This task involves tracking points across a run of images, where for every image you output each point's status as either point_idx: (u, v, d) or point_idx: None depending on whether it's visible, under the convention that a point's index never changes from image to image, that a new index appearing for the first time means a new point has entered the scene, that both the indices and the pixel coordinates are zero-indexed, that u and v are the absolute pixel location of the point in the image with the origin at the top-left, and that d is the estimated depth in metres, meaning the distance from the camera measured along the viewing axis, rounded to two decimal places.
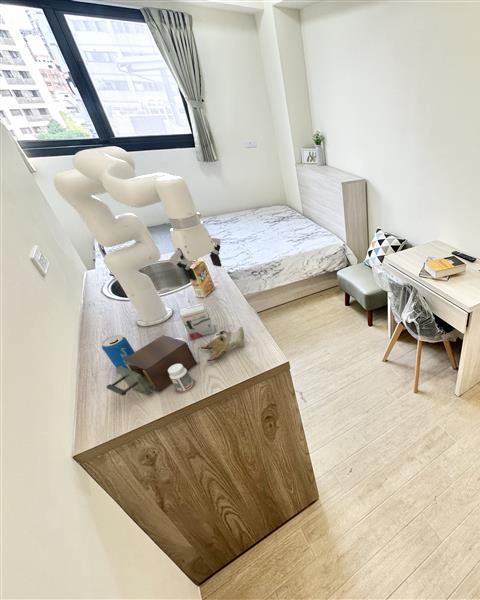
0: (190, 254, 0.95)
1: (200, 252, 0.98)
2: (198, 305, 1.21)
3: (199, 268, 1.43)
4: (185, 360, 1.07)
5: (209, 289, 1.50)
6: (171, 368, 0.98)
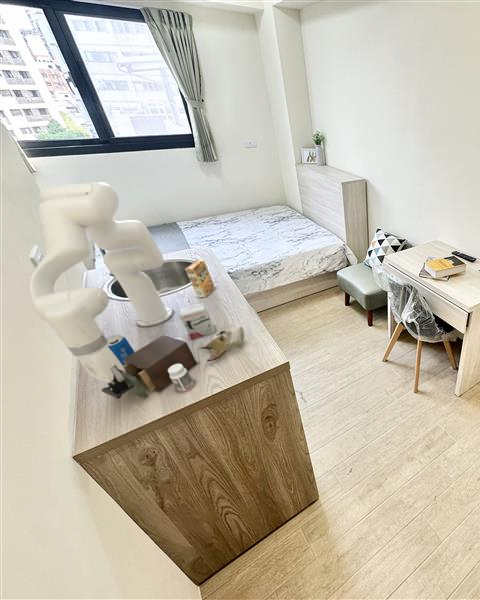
0: None
1: None
2: (198, 305, 1.21)
3: (199, 268, 1.43)
4: (185, 360, 1.07)
5: (209, 289, 1.50)
6: (171, 368, 0.98)
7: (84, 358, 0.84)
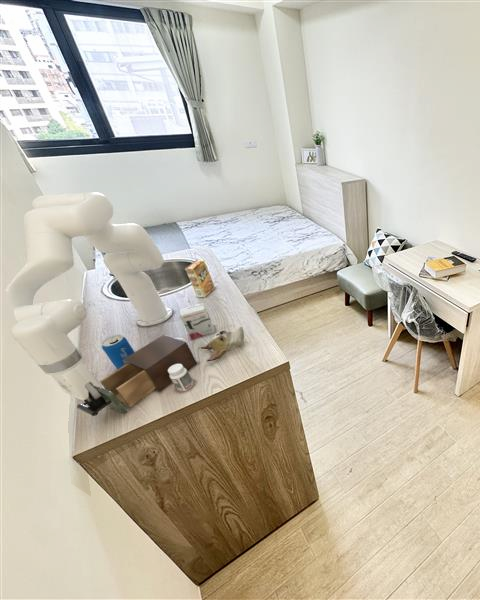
0: (97, 381, 0.86)
1: None
2: (198, 305, 1.21)
3: (199, 268, 1.43)
4: (185, 360, 1.07)
5: (209, 289, 1.50)
6: (171, 368, 0.98)
7: (56, 375, 0.80)
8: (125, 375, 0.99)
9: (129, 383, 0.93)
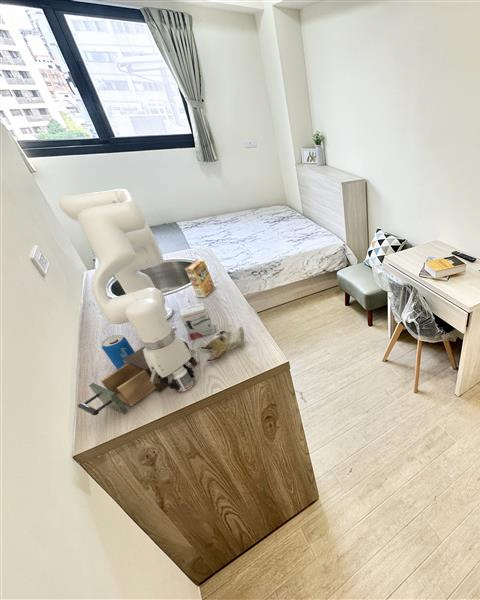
0: (164, 371, 0.93)
1: (175, 366, 0.96)
2: (198, 305, 1.21)
3: (199, 268, 1.43)
4: None
5: (209, 289, 1.50)
6: None
7: None
8: (126, 374, 0.99)
9: (129, 383, 0.93)
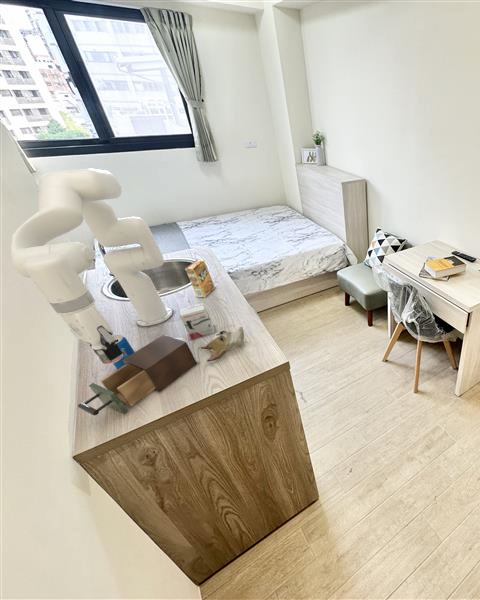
0: None
1: None
2: (198, 305, 1.21)
3: (199, 268, 1.43)
4: (185, 360, 1.07)
5: (209, 289, 1.50)
6: None
7: (68, 316, 0.79)
8: (126, 374, 0.99)
9: (129, 383, 0.93)
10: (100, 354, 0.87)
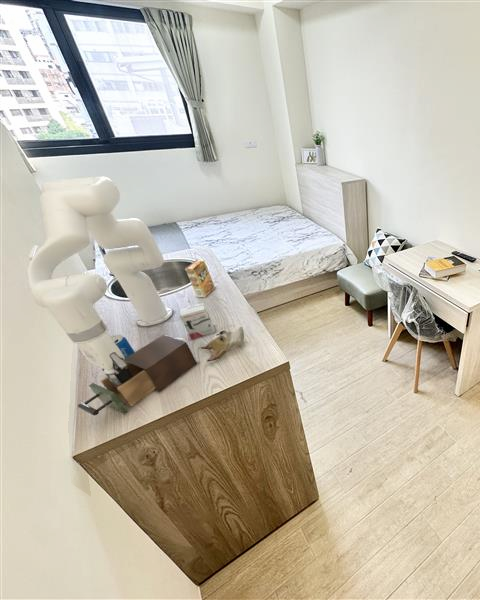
0: None
1: None
2: (198, 305, 1.21)
3: (199, 268, 1.43)
4: (185, 360, 1.07)
5: (209, 289, 1.50)
6: None
7: (83, 344, 0.84)
8: None
9: (129, 383, 0.93)
10: (111, 378, 0.92)
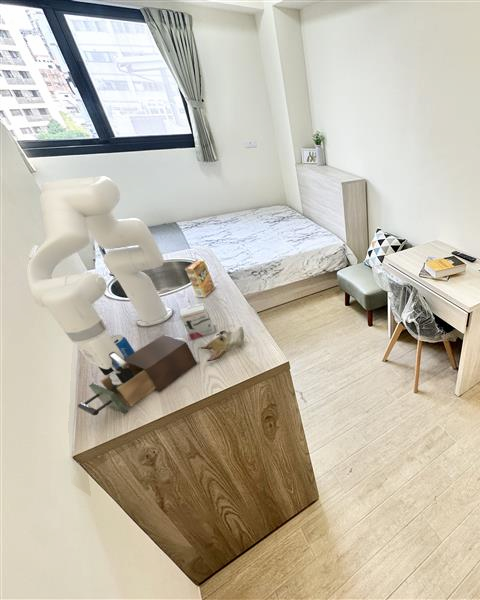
0: (120, 352, 0.90)
1: None
2: (198, 305, 1.21)
3: (199, 268, 1.43)
4: (185, 360, 1.07)
5: (209, 289, 1.50)
6: (115, 375, 0.93)
7: (82, 344, 0.83)
8: None
9: (129, 383, 0.93)
10: None
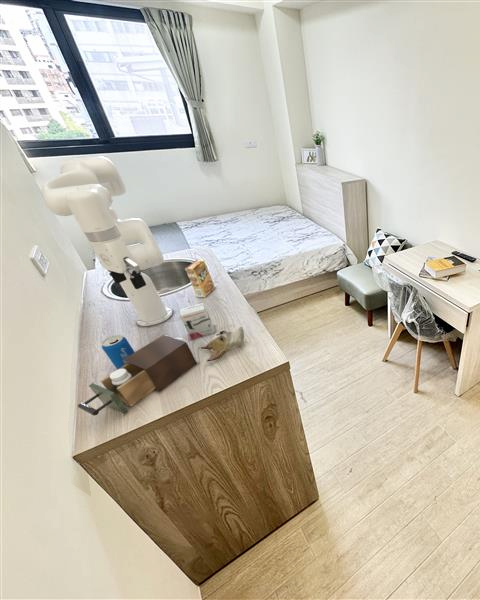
0: None
1: None
2: (198, 305, 1.21)
3: (199, 268, 1.43)
4: (185, 360, 1.07)
5: (209, 289, 1.50)
6: (115, 375, 0.93)
7: (99, 246, 0.92)
8: None
9: (129, 383, 0.93)
10: None
